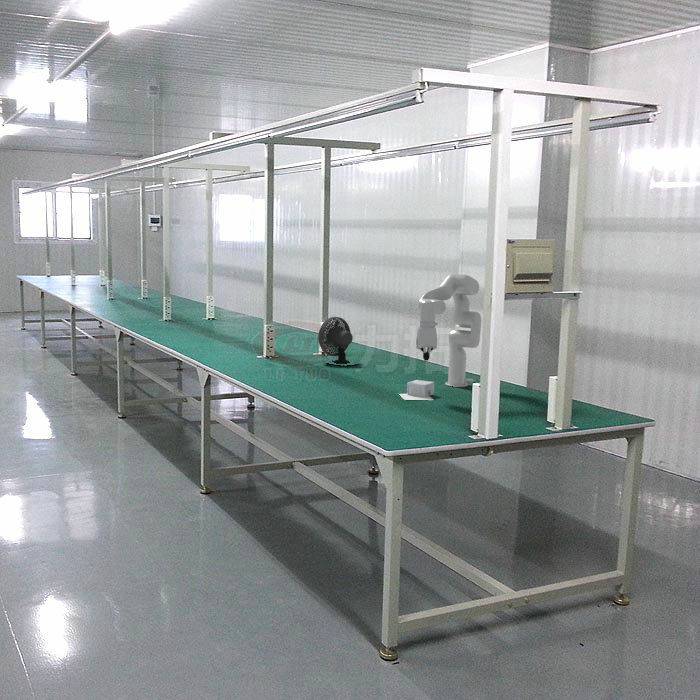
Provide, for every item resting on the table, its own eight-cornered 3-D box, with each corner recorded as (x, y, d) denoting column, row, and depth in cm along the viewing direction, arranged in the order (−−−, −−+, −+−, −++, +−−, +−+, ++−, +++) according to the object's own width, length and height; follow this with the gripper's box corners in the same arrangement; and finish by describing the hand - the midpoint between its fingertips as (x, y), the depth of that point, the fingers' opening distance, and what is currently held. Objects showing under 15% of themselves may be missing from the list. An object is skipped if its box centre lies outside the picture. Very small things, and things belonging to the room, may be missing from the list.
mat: (425, 394, 402) (425, 393, 402) (433, 400, 387) (433, 399, 387) (397, 394, 400) (397, 393, 400) (405, 400, 384) (405, 400, 384)
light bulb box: (434, 394, 401) (416, 391, 407) (434, 381, 400) (416, 379, 406) (424, 397, 392) (406, 394, 398) (424, 384, 391) (406, 382, 397)
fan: (354, 360, 512) (355, 315, 508) (360, 366, 486) (361, 319, 482) (315, 359, 509) (316, 315, 504) (319, 366, 483) (320, 319, 479)
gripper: (439, 324, 394) (438, 358, 397) (411, 324, 391) (410, 359, 394) (443, 325, 387) (442, 361, 390) (415, 326, 384) (413, 361, 387)
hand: (426, 360), depth 392 cm, fingers closed
